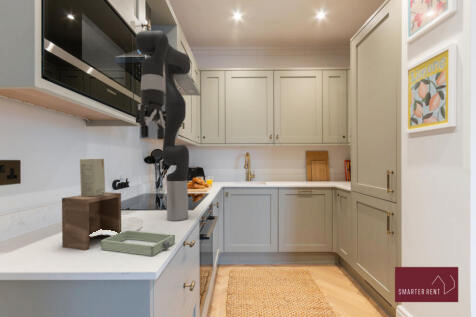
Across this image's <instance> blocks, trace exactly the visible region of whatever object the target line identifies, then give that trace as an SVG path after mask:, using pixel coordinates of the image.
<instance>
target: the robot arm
mask: <svg viewBox="0 0 476 317" xmlns="http://www.w3.org/2000/svg"><path fill="white" fill-rule="evenodd" d="M134 42H135V46H136V47H137V50H138V51H139V52H140V53H141V54H142V55H145V56H147V57H146V58H143V59H142V61H141V80H140V103H139V104H136V105H135V124H139V126H140V135H141V138H142V139H143V138H144V139H146V138H147V139H148V138H149V134H150V132H149V124H150V122H153V124H155V125H156V128H157V129H156V130H157V131H156V132H157V140H163V143H162V144H163V145H162V151H161V152H162V155H161V157H162V161H163V163H164V164H165V165H166V166H175V169H174V171H172V172H170V173H167V175H166V220H167V221H173V222H174V221H177V222H178V221H183V220H185V221H186V220H187V219H188V218H189V195H188V194H189V192H188V191H189V190H188V180H189V179H188V178H189V177H188V176H189V172H190V169H189V168H190V167H189V165H190V152H189V148H188V147H187V146H186V145H185V144H184V145H183V144H176V138H177V134H178V132H179V130H180V128H181V127H182V126H183V123H184V121H185V120H186V113H187V112H186V108H187V107H186V106H187V104H186V100H185V99H184V96H183V95H182V94H181V92H180V90H179V89H178V87H177V84H176V82H175V75H176V76H177V75H179V76H180V75H187V74H189V73H190V71H191V60H190V57H189V55H188V54H187V53H185V52H181V51H180V50H178V49H176V48H175V47H173V46H172V45H171V44H170V43H169V38H168V36H167V34H166V33H165V32H164V30H163V31H162V30H140V31H139V32H137V33H136V35H135V39H134ZM148 56H149V57H148ZM164 78H165V80H164ZM163 106H164V110H163V109H162V108H163Z"/></svg>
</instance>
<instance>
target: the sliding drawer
mask: <svg viewBox="0 0 476 317" xmlns="http://www.w3.org/2000/svg"><path fill="white" fill-rule="evenodd" d="M127 239H129V240H130V239H131V240H140V241H148V242H157V243H154V244H152V245H150V244H142V243H135V242H134V243H133V242H125V241H124V240H127ZM175 243H176V235H175V234H171V233H169V234H167V233H159V232H147V231H146V232H145V231H136V230H129V229H128V230H125V231H121V233H119V234H116V235H114V236H107V237H105V238H104V239H101V240H100V249H101V250H107V251H115V252H125V253H132V254H138V255H139V254H140V255H147V256H154V255H156V254H158V253H160V252H162V251H163V250H165V249H166V248H167V249H168V248H169V247H170V246H172V245H173V244H175Z"/></svg>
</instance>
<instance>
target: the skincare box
mask: <svg viewBox="0 0 476 317" xmlns="http://www.w3.org/2000/svg"><path fill="white" fill-rule="evenodd" d="M79 172H80V174H79V175H80V178H79V179H80V180H79V181H80V195H81V196H98V195H104V194H105V192H106V182H105V178H106V177H105V158H81V159H79Z"/></svg>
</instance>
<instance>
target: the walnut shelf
mask: <svg viewBox="0 0 476 317" xmlns="http://www.w3.org/2000/svg"><path fill="white" fill-rule="evenodd" d="M61 226H62V227H61V233H62V236H61V239H62V240H61V241H62V242H61V247H62V248H69V249H74V250H82V251H87V250H89V249H90V239H93V238H95V237H90V236H89V235H90V234H92V233H93V232H96V231H98V230H100V229H102V230H111V231H115V232H117V233H118V234H119V233H120V232H121V233H122V193H121V192H107V191H105V194H104V195H98V196H81V194H79V196H78V195H73V196H66V197H62V198H61Z"/></svg>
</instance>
